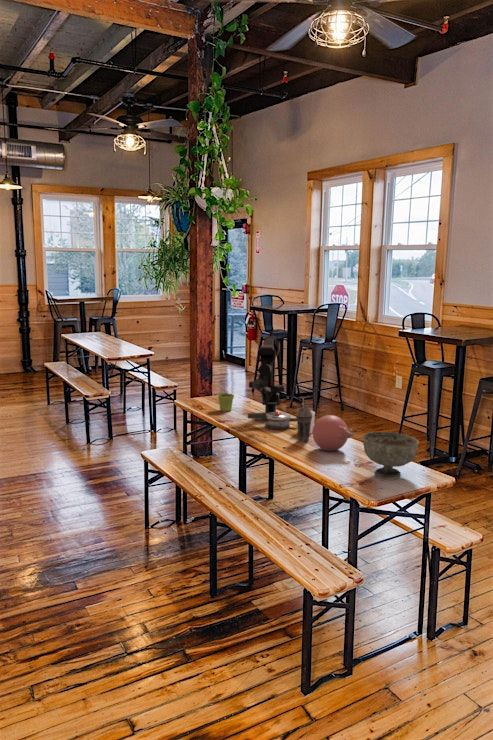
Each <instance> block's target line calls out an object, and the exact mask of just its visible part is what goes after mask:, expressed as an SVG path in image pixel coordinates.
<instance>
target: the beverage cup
mask: <svg viewBox="0 0 493 740" xmlns="http://www.w3.org/2000/svg"><path fill="white" fill-rule="evenodd" d="M311 411H312V410H310V409H309V407H305V398H303V397H302V407H301V408H299V409H298V410H297V412H296V417H295V418H297V421H296V422H297V424H296V425H297V437H298V442H301V443H307V442H309V439H310V434H309V433H310V425H311V420H312V413H311Z"/></svg>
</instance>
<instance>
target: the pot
mask: <svg viewBox="0 0 493 740" xmlns="http://www.w3.org/2000/svg"><path fill="white" fill-rule="evenodd" d="M253 420H254V422H265V428H266V429H268V430H273V431H277V430H278V431H284V430H287V429H289V428H290V426H291V425H290V424H291V423H290V422H297V417H291V418H290V419H289V420H284V421H274V420H268V419H266V418H253Z"/></svg>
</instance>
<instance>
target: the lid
mask: <svg viewBox="0 0 493 740" xmlns="http://www.w3.org/2000/svg"><path fill="white" fill-rule="evenodd" d="M246 415H247V419H254V418H266V419H268V420H274V421H284V420H289V419H290V418H292V417H291V416H292V415H291V414H290V413H288V412H283V411H276V412H270V413H265V412H247V414H246Z"/></svg>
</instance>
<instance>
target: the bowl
mask: <svg viewBox="0 0 493 740" xmlns="http://www.w3.org/2000/svg"><path fill="white" fill-rule="evenodd" d="M362 438H363V443H362V445H363V448H364V450H363V451H364V454H365V455H366V456H367V457H368V459H369V460H371V462H373V463H375V464H377V465H380V466H383V467H379V468H376V470H375V471H374V476H376V477H377V478H379V479H383V480H392V481H395V480H398V479H399V478H400V477H401V475H402V473H401V471H399V469H396V468H394V467H403V466H405V465H408V464H409V463H411V462H413V461H414V460H415V459H416V456H417V451H418V448H419V447H418V446H419V443H420V441H419V440H418V439H417V438H415V437H412V436H410V435H407V434H403V433H398V432H391V431H371V432H368V433H365V434H363V437H362Z"/></svg>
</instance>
